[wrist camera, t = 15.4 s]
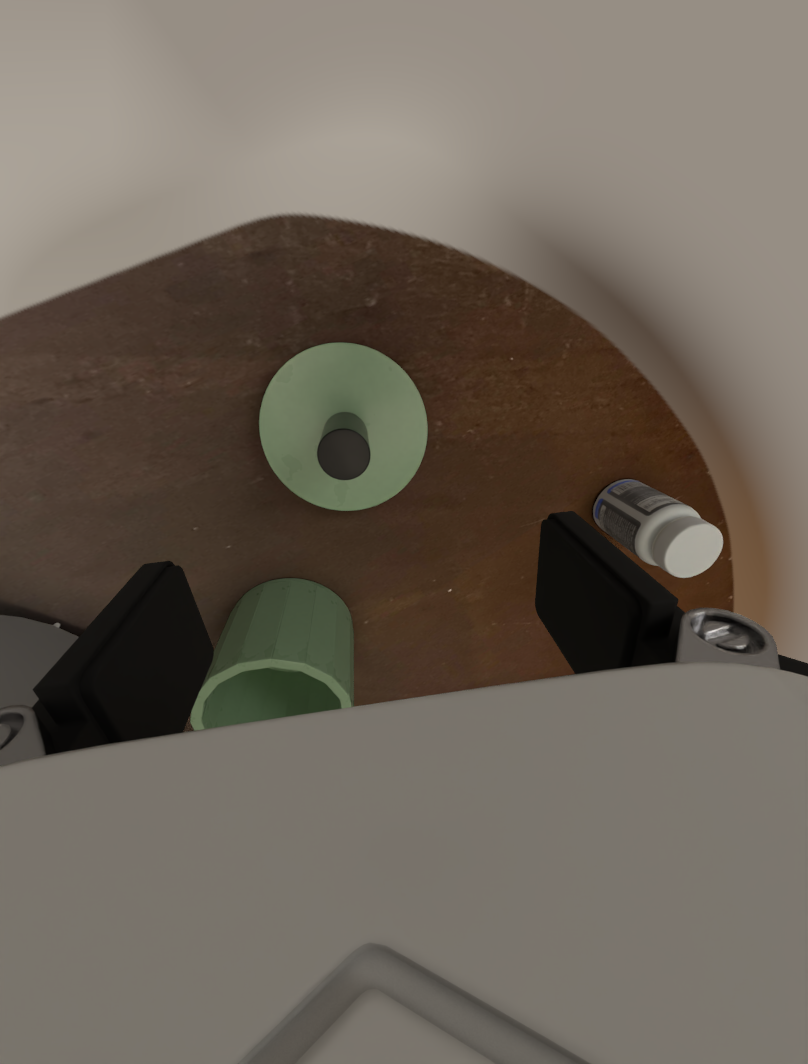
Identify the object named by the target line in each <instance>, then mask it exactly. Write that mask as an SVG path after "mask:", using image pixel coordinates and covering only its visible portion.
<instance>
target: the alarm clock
mask: <svg viewBox="0 0 808 1064" xmlns="http://www.w3.org/2000/svg"><path fill="white" fill-rule="evenodd" d="M59 627H60V624H59V623H55V624H54V625H50V624H46V623H42V622H38V621H34V620H30V619H27V618H23V617H15V616H6V615H0V708H3V707H7V706H11V705H26V706H29V707H31V708H32V707H33V706H34V704H35V703H36V702H37V701H38V700H39V698H38V697H37V696H36V694H35V693H34V691H33V690H32V689H33V688H34V687H35V686H36V685H37V684H38V683H39V682H40V680H41V679H42V678H43V677H44V676H45V675H46V674H47V673H48V671H49V670H50V669H51V668H52V667H53V666H54V665H55V664H56V662H57V661H58V660H59V659H60V658H61V657H62V656H63V654H64V653H65V652H66V651H67V650H68V649H69V648H70V647H71V645H72V644H73V643H74V642H75V641H76V640H77V639H78V638H79V637H78V636H76V635H74V634H71V633H69V632H67V631H65V630H62V629H60V628H59Z"/></svg>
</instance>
